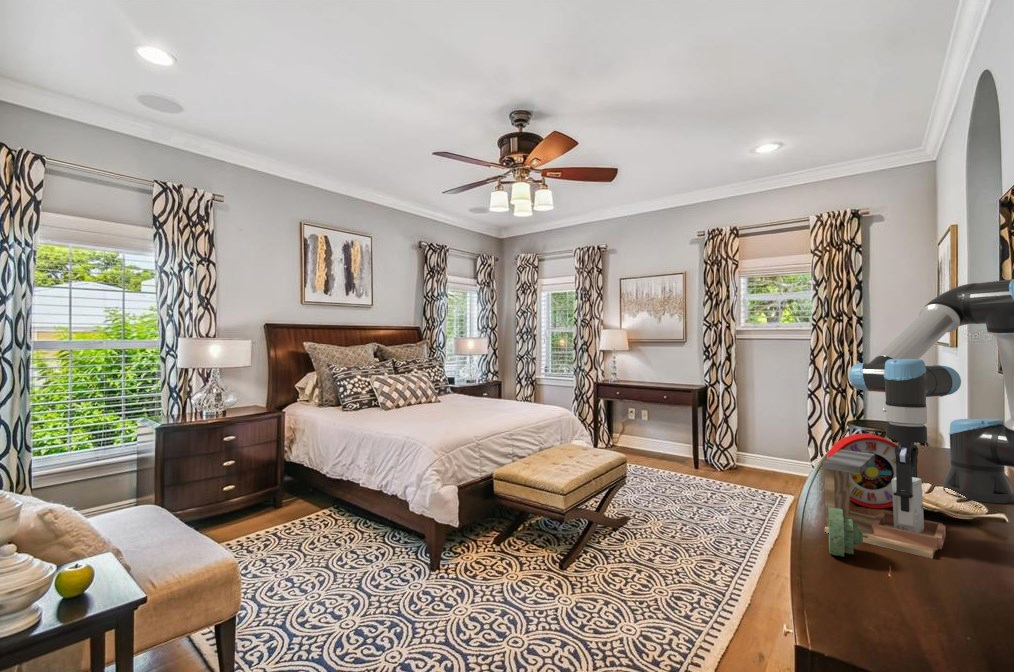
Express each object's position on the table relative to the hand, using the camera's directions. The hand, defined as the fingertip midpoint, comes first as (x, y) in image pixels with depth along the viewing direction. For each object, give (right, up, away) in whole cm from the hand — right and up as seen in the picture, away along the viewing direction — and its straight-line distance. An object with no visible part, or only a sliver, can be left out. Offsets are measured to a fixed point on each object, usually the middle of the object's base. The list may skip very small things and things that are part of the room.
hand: (908, 520), depth 113 cm
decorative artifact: (-20, -5, -8) cm, 22 cm away
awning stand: (-3, -5, +3) cm, 6 cm away
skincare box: (0, -2, 0) cm, 2 cm away
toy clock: (+9, -5, +24) cm, 26 cm away
